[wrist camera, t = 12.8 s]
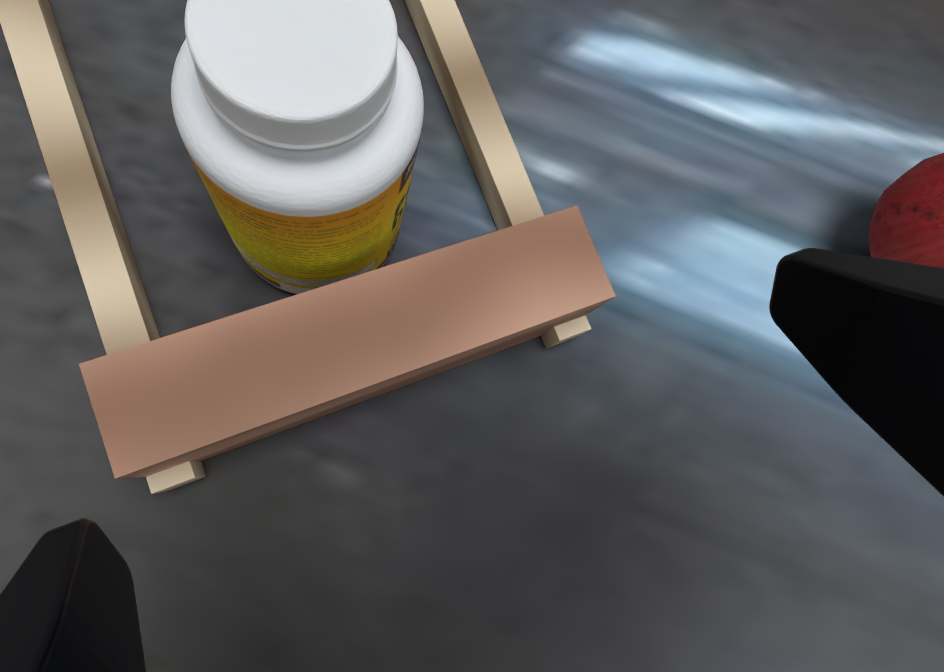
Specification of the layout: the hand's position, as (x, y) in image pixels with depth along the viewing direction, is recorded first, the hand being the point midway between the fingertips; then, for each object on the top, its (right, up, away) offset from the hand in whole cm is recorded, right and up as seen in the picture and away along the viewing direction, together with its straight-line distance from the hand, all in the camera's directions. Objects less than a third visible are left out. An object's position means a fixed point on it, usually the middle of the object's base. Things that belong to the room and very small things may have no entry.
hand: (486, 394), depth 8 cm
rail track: (-6, +7, +14) cm, 17 cm away
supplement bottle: (-6, +5, +14) cm, 16 cm away
